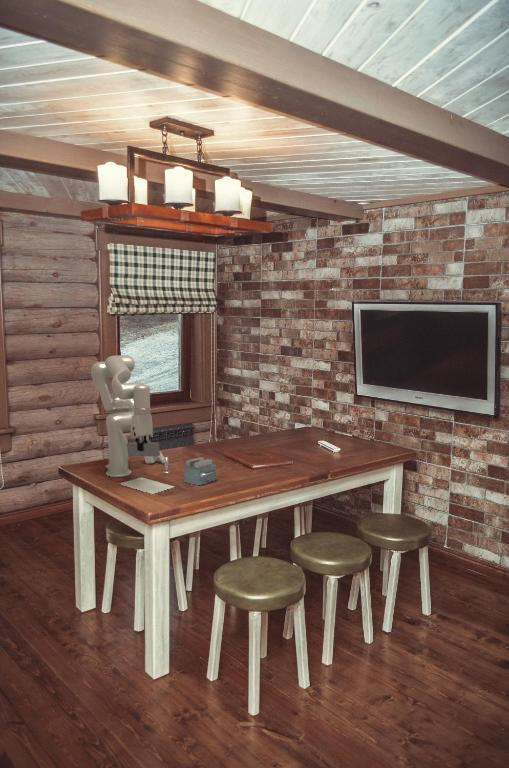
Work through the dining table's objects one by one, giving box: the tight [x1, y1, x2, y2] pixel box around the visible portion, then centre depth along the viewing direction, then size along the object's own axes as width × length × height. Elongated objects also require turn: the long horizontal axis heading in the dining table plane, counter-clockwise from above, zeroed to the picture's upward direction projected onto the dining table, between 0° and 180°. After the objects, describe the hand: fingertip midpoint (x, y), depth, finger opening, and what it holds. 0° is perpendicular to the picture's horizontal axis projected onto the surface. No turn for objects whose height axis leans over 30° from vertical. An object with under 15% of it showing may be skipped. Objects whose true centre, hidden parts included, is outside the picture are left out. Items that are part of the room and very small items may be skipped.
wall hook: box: [143, 451, 165, 465], centre depth 322 cm, size 8×10×10 cm
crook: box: [127, 440, 161, 457], centre depth 278 cm, size 20×9×6 cm, turn 51°
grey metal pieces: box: [162, 456, 219, 486], centre depth 295 cm, size 32×12×10 cm, turn 51°
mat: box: [118, 477, 175, 495], centre depth 281 cm, size 24×14×1 cm, turn 51°
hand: (142, 450), depth 276 cm, fingers closed on crook, 2 cm apart
